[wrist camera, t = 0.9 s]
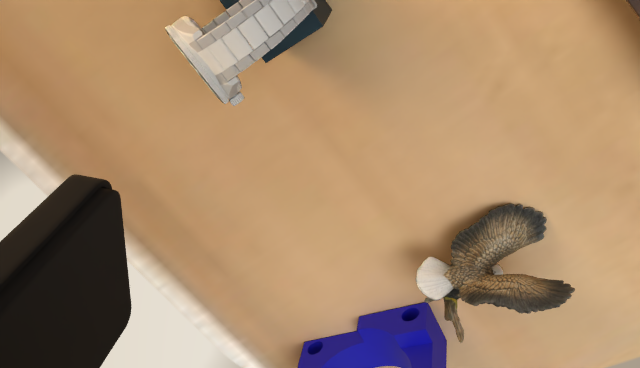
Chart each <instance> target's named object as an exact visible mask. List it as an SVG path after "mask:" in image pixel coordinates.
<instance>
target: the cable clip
mask: <svg viewBox="0 0 640 368" xmlns="http://www.w3.org/2000/svg"><path fill="white" fill-rule="evenodd" d="M446 347H447V340H446V338H445V336H444V334H443V332H442V330H441V328H440V326H439V324H438V322H437V320H436V318H435V316H434V314H433V312H432V310H431V308H430V306H429V304H428V303H425V302H424V303H419V304H415V305H410V306H406V307H401V308H396V309H392V310H387V311H383V312H378V313H373V314H369V315H364V316H360V317H359V321H358V326H357V331H355V332H350V333H345V334H341V335H336V336H331V337H326V338H322V339H317V340H312V341H307V342H304V346H303V349H302V353H301V357H300V360H299V364H298V368H375V367H380V366H397V367H401V368H446Z"/></svg>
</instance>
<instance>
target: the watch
mask: <svg viewBox="0 0 640 368" xmlns="http://www.w3.org/2000/svg"><path fill="white" fill-rule="evenodd" d="M220 2H221V3H222V4H223V6H224V7H225V8H226V12H227V13H228V14H227V13H226V12H223V13H222V14H220V15H219V16H218V17H216V18H215V19H213V21H211V22H210V23H208V24H207V25H206V26H204V27H203V28H202V29H201V28H200V27H199V25H198V24H197V23H196V22H195V21H194V20H193V19H191V18H190V17H188V16H183V17H181V18H179V19H178V20H177V21H175V22H174V23H173V24H172V25H171V26H170V25H168V26H166V27H165V29H166V31H167V33H168V35H169V37H170V38H171V40H172V41H173V42H174V44H175V45H176V46H177V47H178V49H179V50H180V51H181V53H182V54H183V55H184V56H185V58H186V59H187V60H188V61H189V63H190V64H191V65H192V67H193V68H194V69H195V70H196V72H197V73H198V74H199V75H200V77H201V78H202V79H203V80H204V82H205V83H206V84H207V85H208V87H209V88H210V89H211V90H212V92H213V93H214V94H215V95H216V97H217V98H218V99H220V100H221V101H222V102H223V103H224V104H226V103H228V102H229V101H230V102H231V104H232V105H233V106H235V105H237V104H239V103H240V102H241V101H242V100H243V99H244V96H243V95H242V93H241V92H239V91H240V90H241V88H242V86H241V82H240V79H239V78H238V76H237V74H239V73H240V72H242V71H243V70H245V69H246V68H248V67H249V66H250V65H251V64H253V63H254V62H256V61H257V60H259V59H260V58H261V57H262V59H263V60H264V61H265V63H267V62H268V61H270V60H272V59H273V58H275V57H276V56H278V55H279V54H281V53H282V52H284V51H286V50H287V49H289V48H290V47H292V46H293V45H295V44H296V43H298V42H299V41H301V40H303V39H304V38H306V37H307V36H309V35H310V34H312V33H313V32H315V31H316V30H318V29H320V28H321V27H323V26H324V24H325V22H326V20H327V18H328V17H329V15H330V13H331V11H332V9H331V8H330V6H329V5H328V3H327V2H326V0H220ZM228 15H229V16H230V17H229V16H228ZM245 38H246V39H245ZM248 42H249V43H248ZM249 44H250V45H251V46H252V47H251V46H250V45H249ZM252 48H253V49H254V50H253V49H252ZM228 99H229V101H228Z"/></svg>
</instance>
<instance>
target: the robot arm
mask: <svg viewBox="0 0 640 368" xmlns="http://www.w3.org/2000/svg"><path fill="white" fill-rule="evenodd" d="M130 314H131V299H130V289H129V279H128V268H127V258H126V248H125V238H124V228H123V218H122V208H121V199H120V194H119V193H118V192H117V191H116V190H112V187H111V184H110V183H109V182H108V181H107V180H103V179H98V178H92V177H87V176H82V175H72V176H70V177H69V178H68V179H66V180H65V181H64V182H63V183H62V184H61V185H60V186H59V187H58V188H57V189H56V190H55V191H54V192H53V193H52V194H51V195H49V196H48V197H47V198H46V199H45V200H44V201H43V202H42V203H41V204H40V205H39V206H38V207H37V208H36V209H35V210H34V211H33V212H31V213H30V214H29V215H28V216H27V217H26V218H25V219H24V220H23V221H22V222H21V223H20V224H19V225H18V226H17V227H16V228H14V229H13V230H12V231H11V232H10V233H9V234H8V235H7V236H6V237H5V238H4V239H3V240H2V241H1V242H0V368H100V366H101V365H102V363H103V362H104V360H105V358H106V357H107V355H108V354H109V352H110V351H111V349H112V348H113V346H114V345H115V343H116V341H117V340H118V338H119V337H120V335H121V334H122V332H123V331H124V329H125V327H126V326H127V323H128V321H129V318H130Z"/></svg>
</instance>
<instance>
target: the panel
mask: <svg viewBox="0 0 640 368" xmlns="http://www.w3.org/2000/svg"><path fill="white" fill-rule="evenodd" d="M626 2H627V3H628V4H629V6H630V7H631V9H632V10H633V11H634V13H635V14H636V16H637V17H638V18H639V20H640V0H626Z"/></svg>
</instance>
